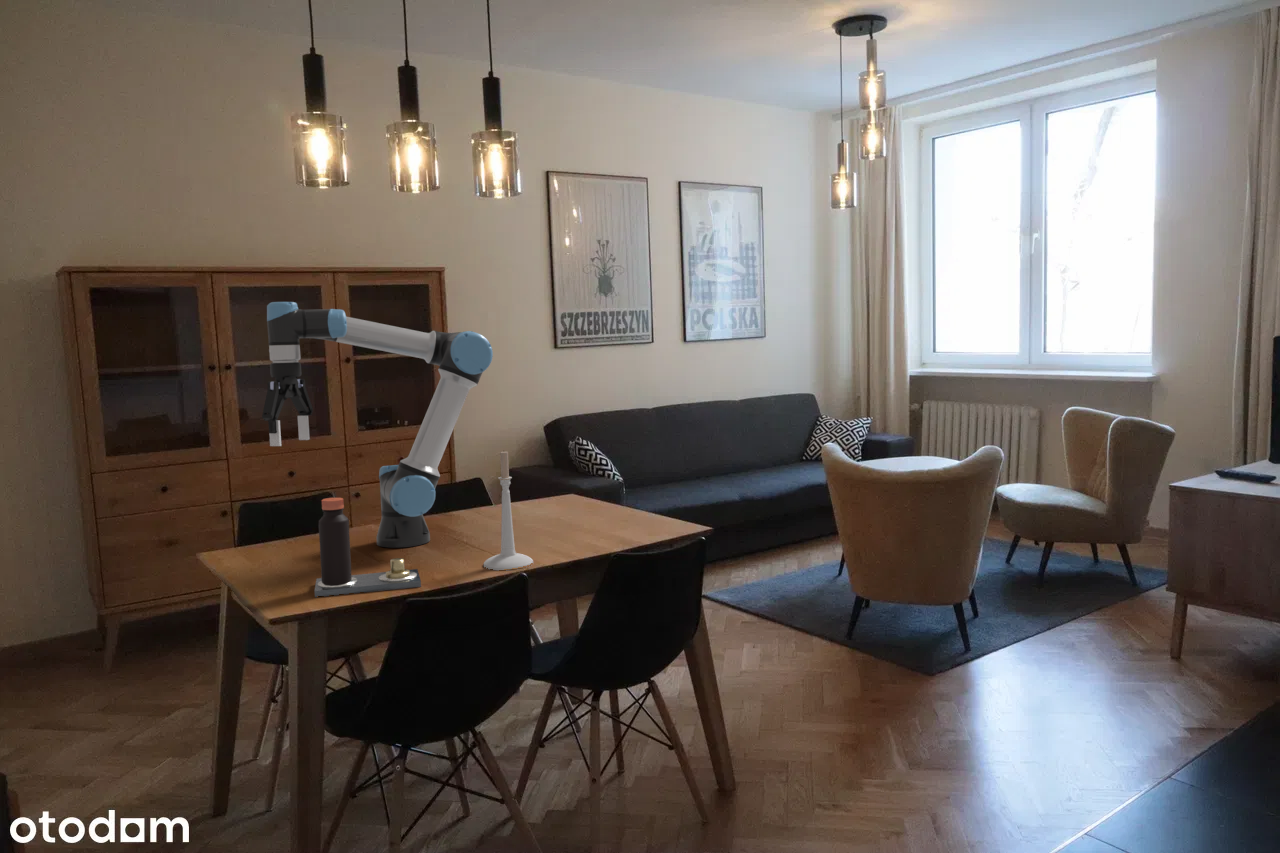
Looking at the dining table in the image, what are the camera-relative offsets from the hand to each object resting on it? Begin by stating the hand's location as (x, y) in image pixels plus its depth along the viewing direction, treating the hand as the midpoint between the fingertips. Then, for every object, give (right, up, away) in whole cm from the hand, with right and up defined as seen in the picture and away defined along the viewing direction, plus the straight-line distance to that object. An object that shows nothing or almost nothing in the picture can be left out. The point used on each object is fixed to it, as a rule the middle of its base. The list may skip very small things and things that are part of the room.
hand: (290, 443), depth 244 cm
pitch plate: (+26, -34, -19) cm, 47 cm away
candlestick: (+58, -32, -2) cm, 66 cm away
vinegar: (+19, -33, -22) cm, 44 cm away
